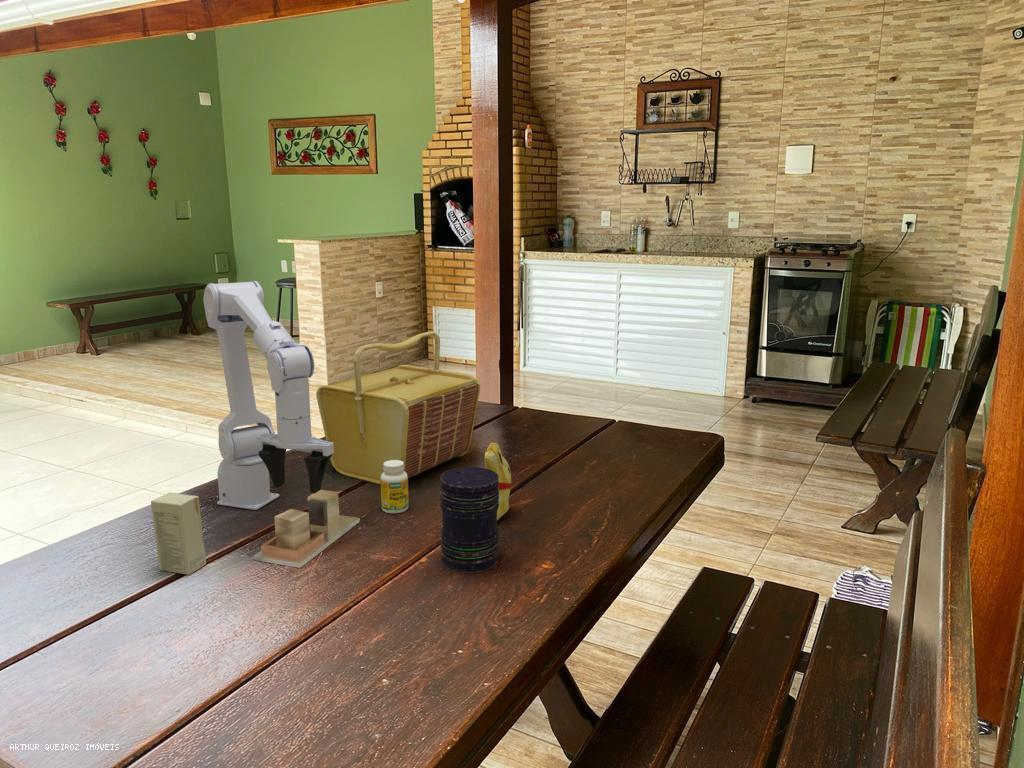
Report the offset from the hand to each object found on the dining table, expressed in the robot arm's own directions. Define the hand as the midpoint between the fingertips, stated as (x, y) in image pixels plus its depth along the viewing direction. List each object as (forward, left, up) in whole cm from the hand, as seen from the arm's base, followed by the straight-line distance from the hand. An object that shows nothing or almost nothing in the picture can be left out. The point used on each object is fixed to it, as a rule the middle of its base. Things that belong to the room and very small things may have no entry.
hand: (297, 488), depth 135 cm
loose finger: (+2, -6, -9) cm, 10 cm away
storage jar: (+32, +1, -10) cm, 34 cm away
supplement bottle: (+10, +17, -10) cm, 22 cm away
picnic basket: (0, +41, -10) cm, 43 cm away
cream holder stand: (+2, -1, -9) cm, 10 cm away
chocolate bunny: (+29, +20, -10) cm, 37 cm away
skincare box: (-12, -17, -10) cm, 22 cm away
